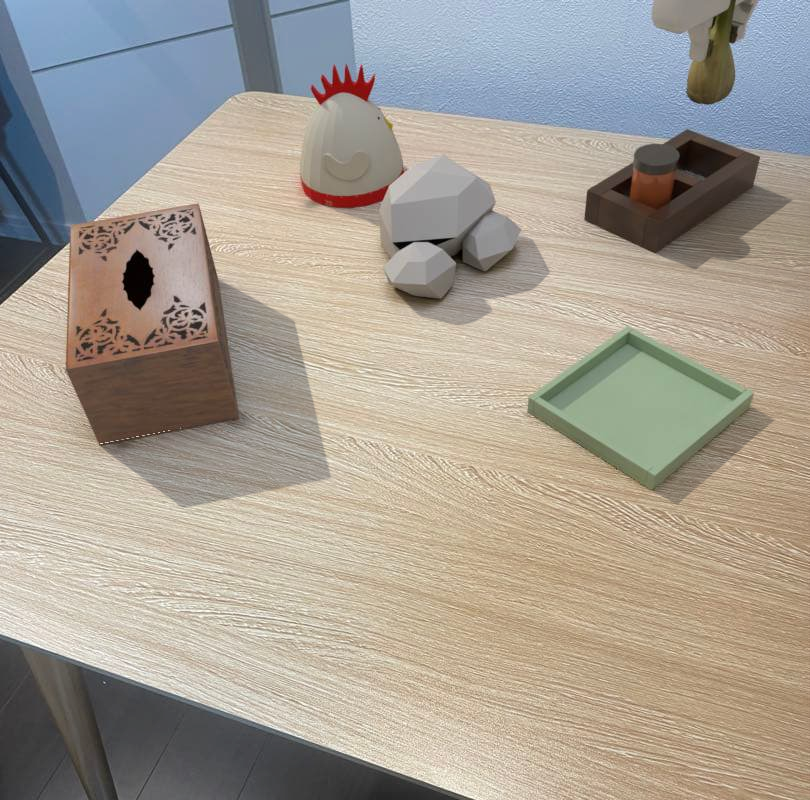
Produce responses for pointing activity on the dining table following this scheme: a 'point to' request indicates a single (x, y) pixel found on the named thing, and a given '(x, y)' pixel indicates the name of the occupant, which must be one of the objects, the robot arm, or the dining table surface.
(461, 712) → the dining table surface
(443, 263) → the rock
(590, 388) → the tray
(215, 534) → the dining table surface
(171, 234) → the tissue box cover
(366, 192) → the kitchen timer
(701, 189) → the rack
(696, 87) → the fennel bulb
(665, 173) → the spice jar
